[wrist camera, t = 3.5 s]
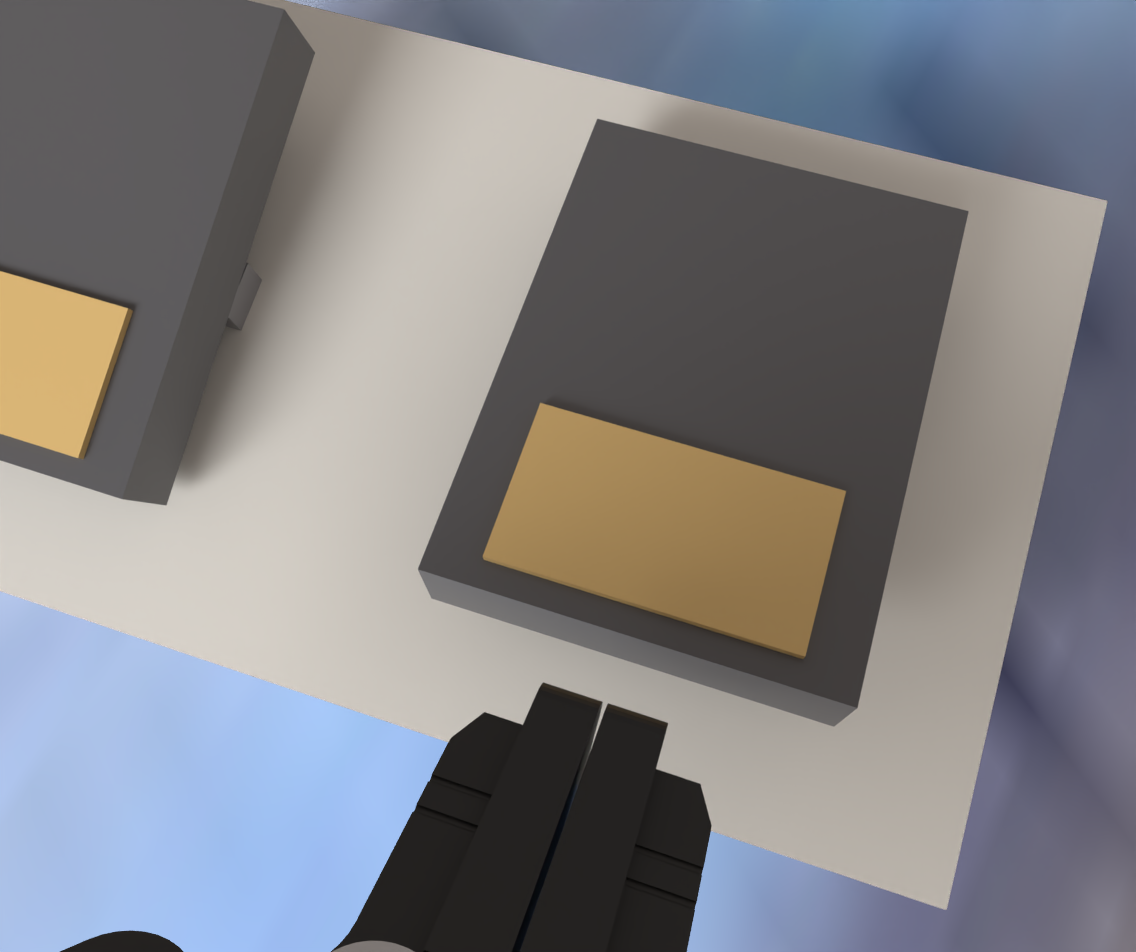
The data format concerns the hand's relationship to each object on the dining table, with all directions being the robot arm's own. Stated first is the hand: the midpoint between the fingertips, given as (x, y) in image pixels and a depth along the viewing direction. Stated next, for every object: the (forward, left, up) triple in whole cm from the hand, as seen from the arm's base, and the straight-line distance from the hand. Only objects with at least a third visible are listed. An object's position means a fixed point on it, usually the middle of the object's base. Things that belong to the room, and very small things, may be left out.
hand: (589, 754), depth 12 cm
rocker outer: (-4, +4, -3) cm, 6 cm away
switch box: (-8, 0, -15) cm, 16 cm away
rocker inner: (-12, -4, -3) cm, 13 cm away
